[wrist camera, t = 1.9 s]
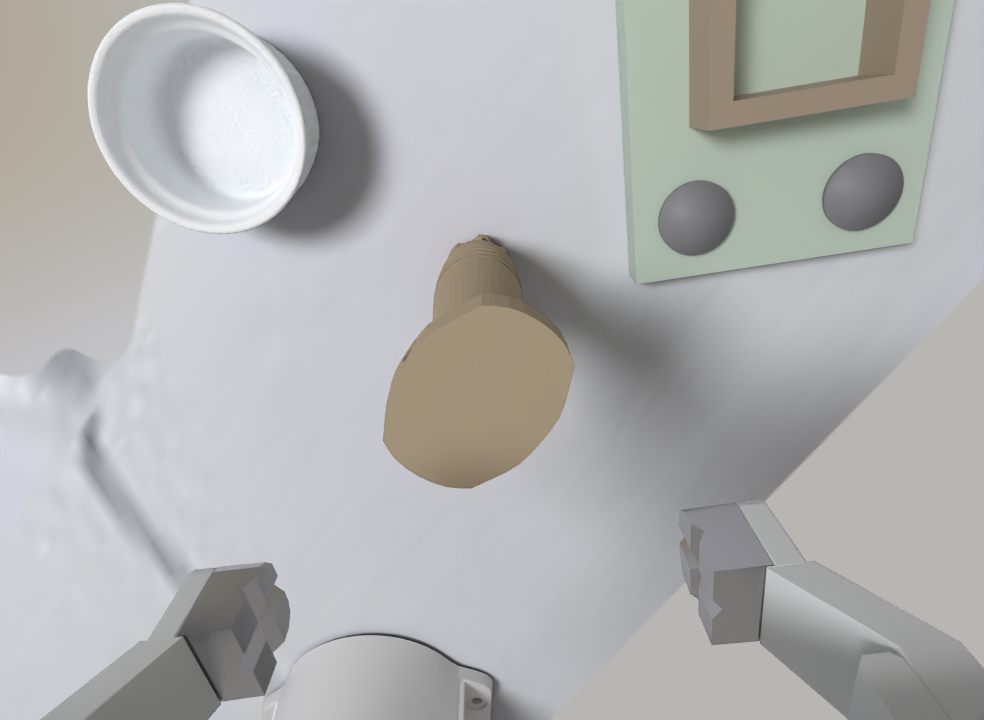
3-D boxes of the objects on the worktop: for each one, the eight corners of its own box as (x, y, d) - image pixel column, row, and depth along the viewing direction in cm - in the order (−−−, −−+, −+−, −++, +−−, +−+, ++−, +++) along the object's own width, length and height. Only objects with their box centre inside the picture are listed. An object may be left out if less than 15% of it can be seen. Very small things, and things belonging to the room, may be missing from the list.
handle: (550, 239, 30) (607, 366, 16) (481, 331, 32) (481, 510, 19) (475, 185, 29) (469, 274, 15) (409, 285, 31) (351, 440, 17)
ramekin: (112, 135, 27) (50, 143, 24) (197, -34, 24) (142, -57, 21) (272, 249, 30) (241, 273, 26) (367, 108, 27) (347, 112, 23)
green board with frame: (893, 235, 30) (949, 255, 26) (629, 275, 31) (649, 300, 27) (964, -215, 22) (1057, -274, 19) (608, -147, 23) (631, -190, 19)
